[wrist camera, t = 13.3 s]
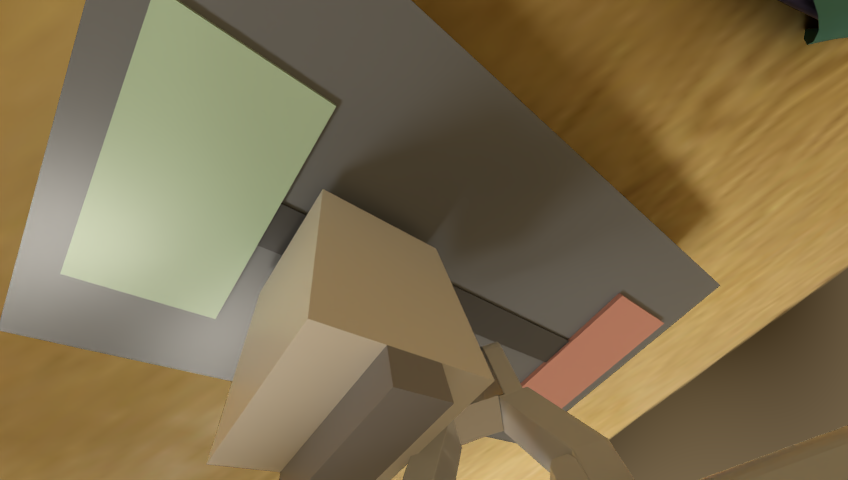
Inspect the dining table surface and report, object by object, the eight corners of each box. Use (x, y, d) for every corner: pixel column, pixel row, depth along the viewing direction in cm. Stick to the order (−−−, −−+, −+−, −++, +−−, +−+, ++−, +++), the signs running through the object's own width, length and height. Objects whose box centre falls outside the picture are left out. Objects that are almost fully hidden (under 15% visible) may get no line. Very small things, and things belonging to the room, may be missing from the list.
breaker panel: (505, 401, 23) (527, 448, 21) (66, 270, 12) (-9, 335, 10) (669, 251, 19) (723, 288, 16) (210, -155, 8) (143, -250, 5)
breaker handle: (370, 330, 12) (390, 524, 7) (260, 291, 10) (190, 516, 6) (436, 248, 11) (511, 418, 6) (322, 188, 9) (302, 362, 4)
